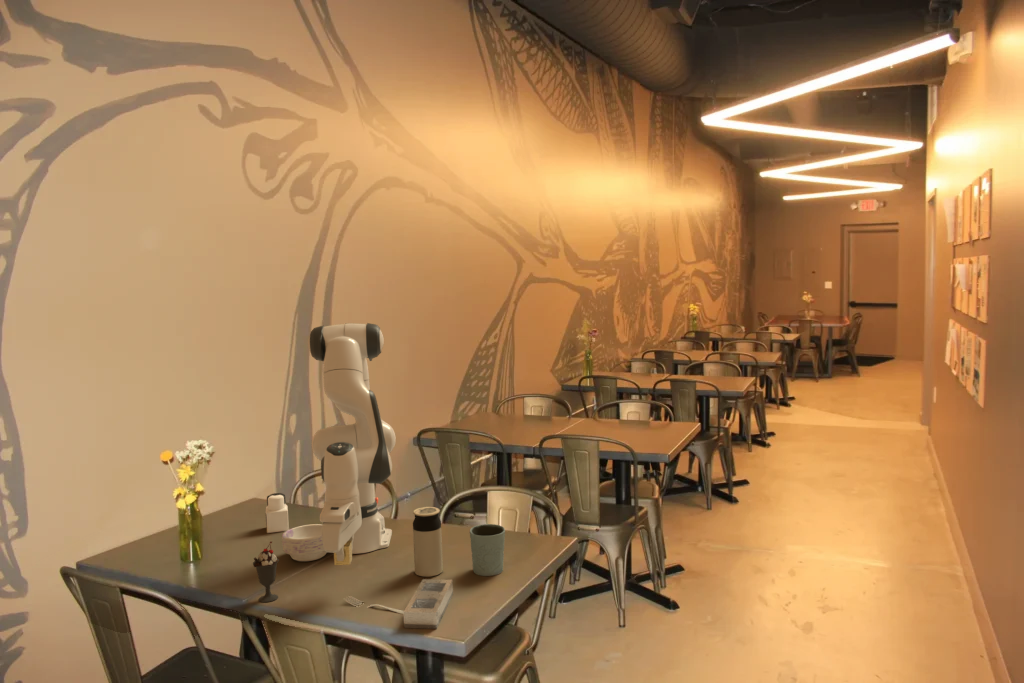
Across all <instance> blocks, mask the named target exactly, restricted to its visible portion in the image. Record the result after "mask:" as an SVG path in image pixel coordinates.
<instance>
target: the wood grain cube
mask: <svg viewBox="0 0 1024 683" xmlns="http://www.w3.org/2000/svg"><path fill="white" fill-rule="evenodd" d="M343 551H344V552H345V559H344V560H343V561H338V560H337V554H336V553H333V561H334V564H333V565H334V566H350V565H351V564H352V563H351V562H352V560H353V554H352V541H347V543H346V544H345V545H344V548H343Z"/></svg>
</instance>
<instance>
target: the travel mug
mask: <svg viewBox="0 0 1024 683" xmlns="http://www.w3.org/2000/svg"><path fill="white" fill-rule="evenodd" d="M439 513H440V508H438V507H434V506H423V507H418V508H415V509H414V510H413V513H412V514H413V516H414V519H413V522H412V535H413V536H412V538H413V559H414V563H413V564H414V574H416V575H417V576H419V577H423V578H424V577H425V578H426V577H427V578H431V577H435V576H438V575H439V574H441V573H442V572H443V569H444V568H443V567H444V565H443V563H444V562H443V542H442V541H443V539H442V536H443V535H442V520H441V518H440V516H439Z"/></svg>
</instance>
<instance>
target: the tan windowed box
mask: <svg viewBox="0 0 1024 683" xmlns="http://www.w3.org/2000/svg"><path fill="white" fill-rule="evenodd" d="M453 596H454V583H453V579H432V578H431V579H429V578H428V579H427V578H425V579H424V578H423V579H422V580H421V582H420V583H419V585H418V587H417V588H416V590H415V592H414V593H413V595H412V597H411V599H410V600H409V601H408V604H407V605H406V607H405V609H404V610H403V611H404V612H403V613H404V614H403V628H404V629H428V630H429V629H431V630H436V629H438V627H439V625H440V623H441V621H442V619H443V616H444V614H445V612H446V610H447V608H448V607H449V604H450V602H451V600H452V599H453Z"/></svg>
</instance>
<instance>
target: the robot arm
mask: <svg viewBox="0 0 1024 683" xmlns="http://www.w3.org/2000/svg"><path fill="white" fill-rule="evenodd" d="M384 338H385V337H384V335H383V332H382V329H381V327H380V326H379V325H378V324H376V323H368V322H367V323H354V322H353V323H352V322H350V323H349V322H348V323H343V324H341V323H340V324H332V325H327V326H324V325H320V326H317V327H313V329H311V331H310V333H309V336H308V340H307V346H308V347H307V348H308V350H309V352H310V355H311V357H312V358H313V359H315V360H316V361H319V362H323V369H322V370H323V371H322V375H323V376H322V377H323V379H322V380H323V389H324V394H325V395H326V396H327V398H328V399H329V400H330V401H331V402H333V404H334V406H335V408H336V409H338V410H339V411H340V412H341V413H344V414H347V415H350V416H352V417H354V419H355V423H353V424H343V425H342V424H341V425H333V426H331V425H330V426H329V427H324V428H322V429H318V430H316V432H315V434H314V435H313V437H312V440H311V451H312V452H313V455H314V456H315V457H316V458H317V460H319V461H320V469H321V470H320V474H321V480H322V481H323V482H324V484H325V492H324V503H323V507H322V510H321V512H320V514H319V521H320V523H321V524H322V538H323V547H324V550H325V551H326V552H327V553H333V554H334V553H336V554H337V560H338V561H343V560H344V559H345V552H344V551H343V548H344V545H345V544H346V543H347V541H352V555H355V554H366V553H369V552H373V551H377V550H379V549H385V548H388V547H389V546H390V542H391V538H392V534H393V530H392V529H391V528H387V527H386V526H385V525H386V524H385V517H384V516H383V515H382V514H381V513H380V512H379V509H378V506H379V505H378V503H379V497H376V492H375V488H376V487H375V484H377V485H379V484H380V485H381V484H383V483H384V482H385V481H387V479H389V478H390V477H391V475H392V472H393V462H392V457H391V455H390V453H391V452H392V451H393V450H394V448H395V446H396V442H397V438H396V433H395V430H394V428H393V426H392V425H390V424H389V423H387V422H386V421H384V420H383V419H382V417H381V411H380V409H379V405H378V400H377V397H376V395H375V392H374V391H373V390H371V389H370V388H371V385H370V372H369V365H368V360H369V362H372V361H373V359H375V358H377V357H379V356H380V354H381V353H382V350H383V348H384V345H385V344H384V343H385V339H384ZM367 359H368V360H367Z"/></svg>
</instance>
